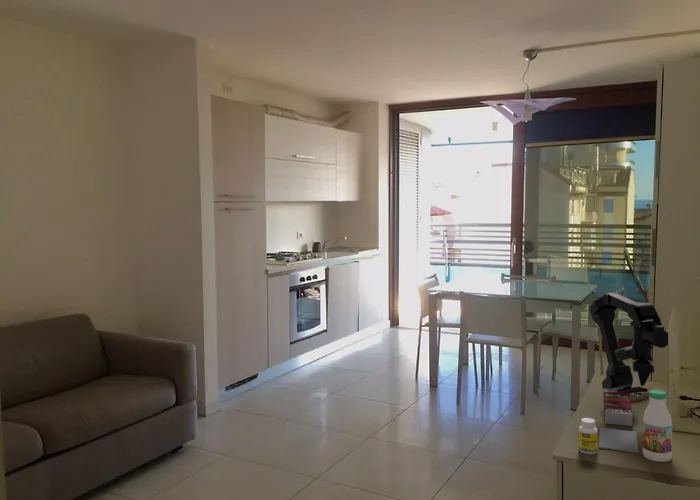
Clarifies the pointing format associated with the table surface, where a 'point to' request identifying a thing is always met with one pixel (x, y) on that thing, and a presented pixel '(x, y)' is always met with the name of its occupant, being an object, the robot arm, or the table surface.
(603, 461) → the table surface
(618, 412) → the supplement box
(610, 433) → the mat
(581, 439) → the supplement bottle
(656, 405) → the milk bottle
